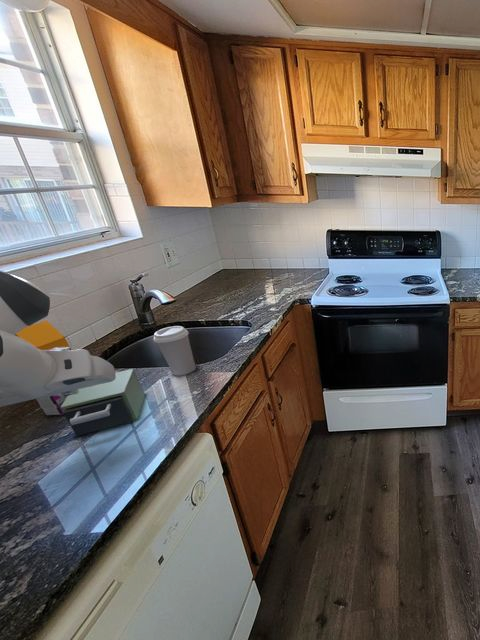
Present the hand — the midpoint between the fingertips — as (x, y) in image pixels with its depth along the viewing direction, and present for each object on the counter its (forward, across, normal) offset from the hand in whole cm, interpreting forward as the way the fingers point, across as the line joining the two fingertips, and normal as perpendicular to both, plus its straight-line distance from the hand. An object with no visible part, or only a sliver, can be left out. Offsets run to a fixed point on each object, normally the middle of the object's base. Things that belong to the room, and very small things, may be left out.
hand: (70, 392), depth 84 cm
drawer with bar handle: (+18, 0, -3) cm, 19 cm away
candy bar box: (+32, -12, +9) cm, 35 cm away
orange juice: (+46, -19, +23) cm, 55 cm away
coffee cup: (+35, +16, +12) cm, 41 cm away
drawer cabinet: (+22, 0, 0) cm, 22 cm away
